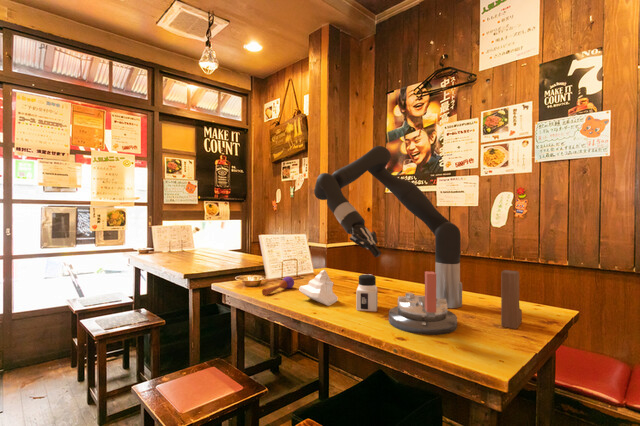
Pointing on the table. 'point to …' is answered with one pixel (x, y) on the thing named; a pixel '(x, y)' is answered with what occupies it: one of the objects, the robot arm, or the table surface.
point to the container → (366, 293)
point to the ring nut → (423, 303)
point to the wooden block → (510, 299)
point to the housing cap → (423, 324)
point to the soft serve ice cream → (320, 289)
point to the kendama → (280, 286)
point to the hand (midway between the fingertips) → (378, 255)
